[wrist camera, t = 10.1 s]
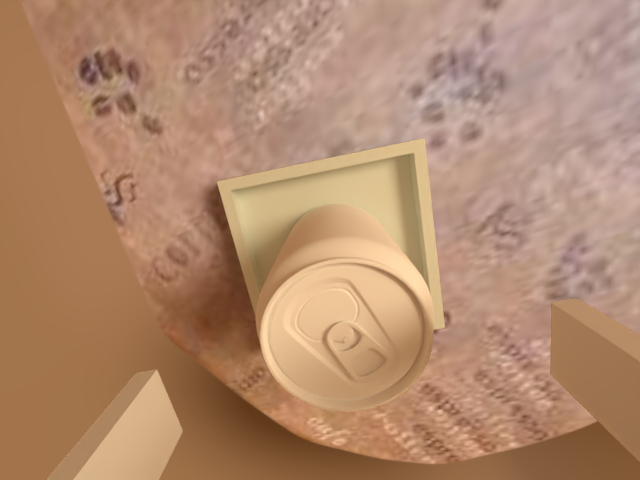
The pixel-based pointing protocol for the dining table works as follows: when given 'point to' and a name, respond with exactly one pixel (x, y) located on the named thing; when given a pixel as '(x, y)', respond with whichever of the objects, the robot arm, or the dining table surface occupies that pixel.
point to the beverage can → (344, 313)
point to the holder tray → (336, 188)
